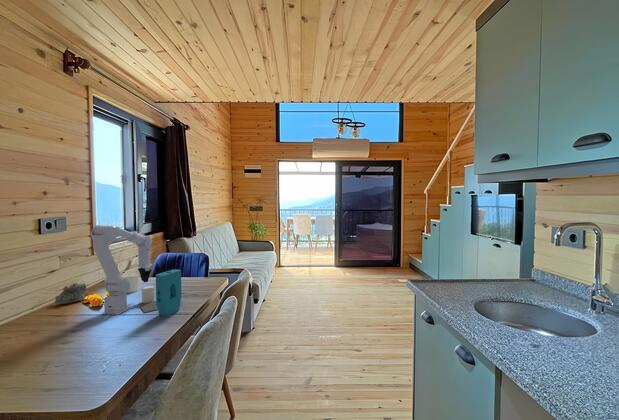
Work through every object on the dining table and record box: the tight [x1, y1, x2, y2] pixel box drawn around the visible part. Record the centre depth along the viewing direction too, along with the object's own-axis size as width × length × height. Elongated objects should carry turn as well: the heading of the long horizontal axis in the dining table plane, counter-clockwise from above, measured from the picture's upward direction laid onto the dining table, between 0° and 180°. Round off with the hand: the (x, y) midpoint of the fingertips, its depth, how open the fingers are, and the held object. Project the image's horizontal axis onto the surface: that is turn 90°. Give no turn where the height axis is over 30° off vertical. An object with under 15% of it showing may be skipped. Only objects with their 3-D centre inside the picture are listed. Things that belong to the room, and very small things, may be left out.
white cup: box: [124, 272, 141, 294], centre depth 178 cm, size 8×8×10 cm
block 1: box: [141, 285, 155, 304], centre depth 159 cm, size 4×5×8 cm
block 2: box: [155, 268, 182, 317], centre depth 144 cm, size 12×5×20 cm, turn 160°
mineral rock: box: [54, 282, 88, 305], centre depth 159 cm, size 13×11×10 cm
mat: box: [138, 300, 158, 314], centre depth 152 cm, size 14×10×1 cm
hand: (144, 281), depth 164 cm, fingers open, 3 cm apart
